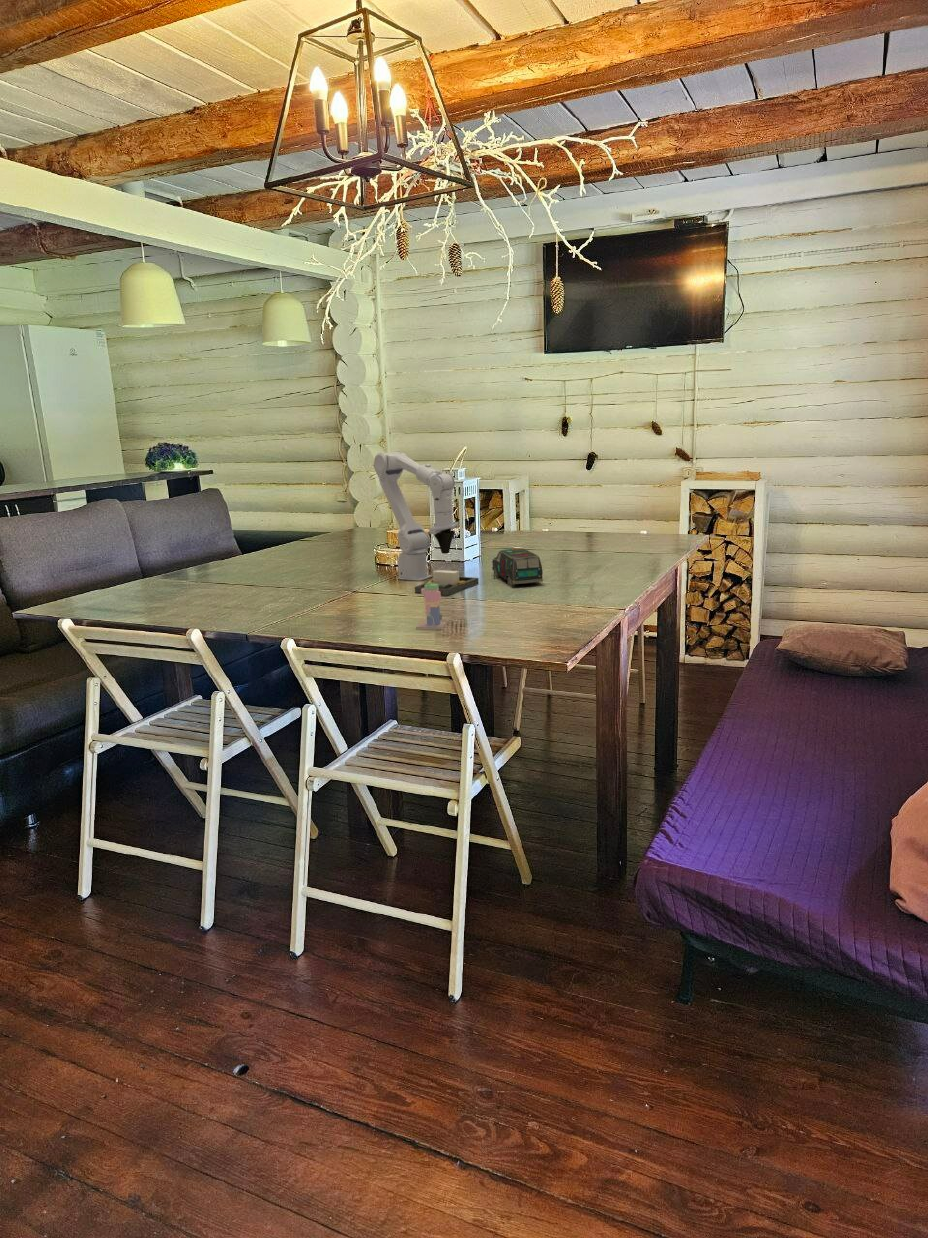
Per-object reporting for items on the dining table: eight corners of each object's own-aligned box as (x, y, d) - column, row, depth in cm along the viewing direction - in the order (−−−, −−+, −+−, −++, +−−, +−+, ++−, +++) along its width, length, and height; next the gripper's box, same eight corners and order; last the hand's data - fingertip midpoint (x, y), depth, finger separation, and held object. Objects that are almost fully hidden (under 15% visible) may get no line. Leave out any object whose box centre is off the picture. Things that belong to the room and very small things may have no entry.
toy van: (520, 572, 291) (520, 543, 289) (544, 586, 268) (544, 555, 265) (491, 575, 289) (490, 546, 286) (512, 589, 265) (511, 557, 263)
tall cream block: (433, 586, 271) (432, 571, 269) (438, 585, 273) (437, 569, 272) (454, 588, 266) (453, 573, 265) (459, 586, 269) (458, 571, 268)
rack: (415, 593, 265) (414, 584, 264) (447, 581, 281) (447, 573, 280) (447, 596, 259) (446, 587, 258) (478, 583, 274) (478, 575, 274)
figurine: (446, 624, 225) (444, 579, 222) (441, 629, 220) (439, 584, 217) (421, 623, 227) (419, 579, 224) (416, 629, 221) (413, 584, 219)
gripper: (441, 514, 265) (443, 557, 268) (465, 509, 277) (467, 550, 280) (422, 514, 268) (425, 556, 272) (447, 508, 280) (449, 549, 284)
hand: (445, 553), depth 276 cm, fingers closed
